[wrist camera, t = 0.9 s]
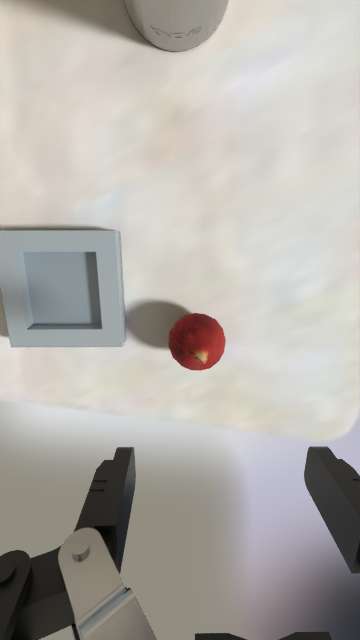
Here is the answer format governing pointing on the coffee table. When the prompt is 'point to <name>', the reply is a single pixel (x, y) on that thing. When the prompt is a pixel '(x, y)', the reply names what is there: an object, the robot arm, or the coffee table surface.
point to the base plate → (63, 288)
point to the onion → (197, 341)
